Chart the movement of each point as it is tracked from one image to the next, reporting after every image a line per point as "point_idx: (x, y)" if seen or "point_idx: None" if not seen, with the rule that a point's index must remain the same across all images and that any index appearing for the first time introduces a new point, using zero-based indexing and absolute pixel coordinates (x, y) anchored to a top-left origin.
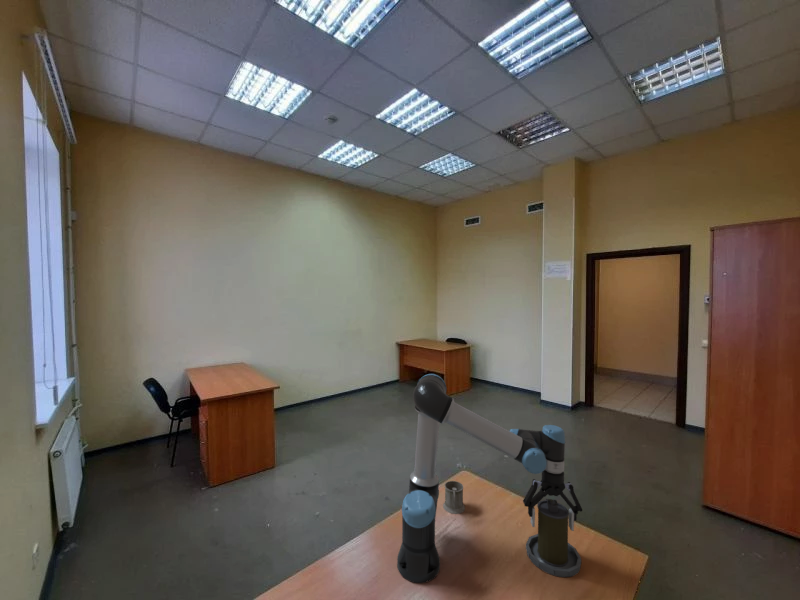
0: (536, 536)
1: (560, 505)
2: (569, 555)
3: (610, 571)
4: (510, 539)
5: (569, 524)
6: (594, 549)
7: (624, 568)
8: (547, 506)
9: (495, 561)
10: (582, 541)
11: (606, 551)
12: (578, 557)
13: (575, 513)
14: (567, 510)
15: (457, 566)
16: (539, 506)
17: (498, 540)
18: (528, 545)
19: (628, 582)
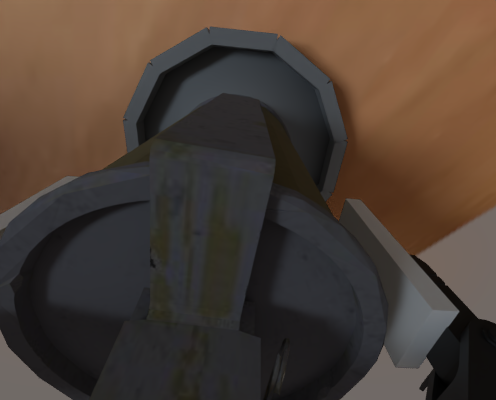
0: (188, 56)
1: (350, 278)
2: (304, 153)
3: (407, 209)
4: (66, 42)
5: (348, 224)
6: (446, 102)
7: (470, 196)
8: (148, 278)
9: (16, 178)
10: (434, 44)
11: (489, 113)
12: (325, 188)
13: (425, 387)
14: (365, 373)
15: None
16: (31, 284)
17: (7, 53)
18: (134, 127)
19: (425, 244)
